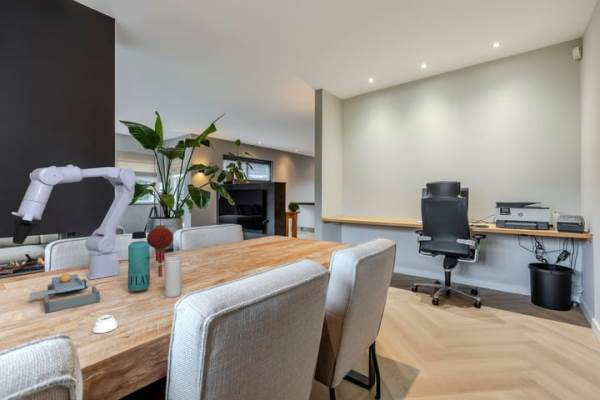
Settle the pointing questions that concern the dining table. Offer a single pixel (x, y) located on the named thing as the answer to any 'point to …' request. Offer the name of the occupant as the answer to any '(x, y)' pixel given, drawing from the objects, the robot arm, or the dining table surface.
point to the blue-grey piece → (62, 286)
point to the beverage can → (172, 277)
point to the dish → (71, 301)
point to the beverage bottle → (138, 263)
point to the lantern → (160, 242)
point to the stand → (70, 290)
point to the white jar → (105, 324)
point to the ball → (65, 278)
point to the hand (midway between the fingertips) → (17, 243)
